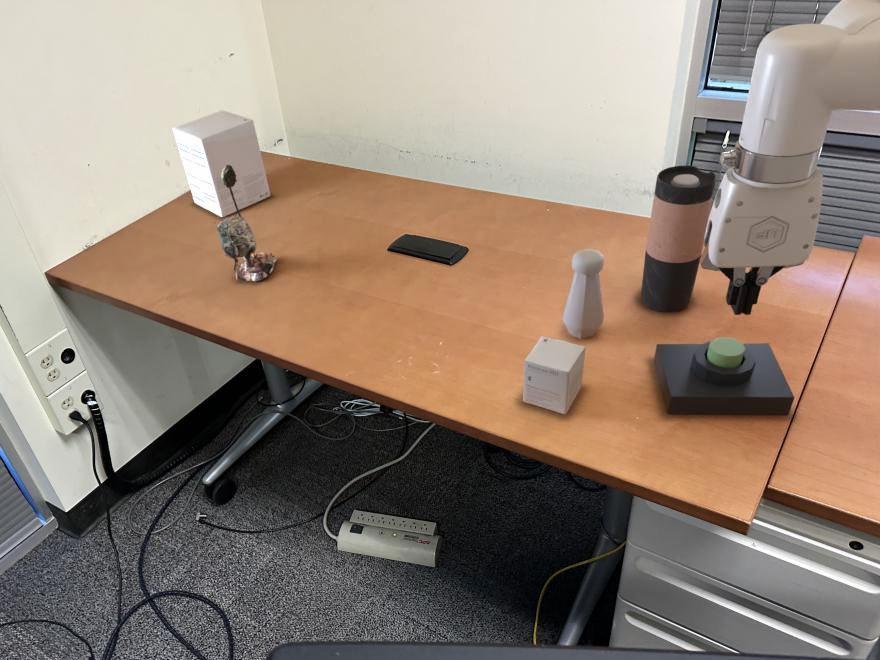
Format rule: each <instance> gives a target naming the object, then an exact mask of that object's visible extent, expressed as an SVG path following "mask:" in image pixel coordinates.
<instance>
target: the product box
mask: <svg viewBox="0 0 880 660" xmlns="http://www.w3.org/2000/svg"><path fill="white" fill-rule="evenodd" d="M586 349H587V347H586V346H584V345H580V344H576V343H573V342H569V341H566V340H563V339H556V338H552V337H548V336H545V335H541V337H540V338H539V340H538V341H537V342H536V343H535V345H534V347H533V348H532V350H531V351H530V352H529V354H528V355H527V357H526V358H525V359H524V368H523V369H524V370H523V395H522V397H523V398H522V401H523V402H524V403H526V404H530V405H533V406H536V407H540V408H543V409H546V410H548V411H553V412H555V413H559V414H561V415H567V413H568V412H569V410H570V408H571V406H572V404H573V402H574V401H575V399H576V398H577V396H578V394H579V392H580V391H581V390H582V384H583V377H584V368H585V367H584V366H585V357H586Z"/></svg>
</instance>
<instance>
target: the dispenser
mask: <svg viewBox="0 0 880 660" xmlns="http://www.w3.org/2000/svg"><path fill="white" fill-rule="evenodd" d="M711 341H712V340H709V341H706V342H704V343H657V344H656V345H655V350H654V351H655V352H654V357H653V364H654V367H655V373H656V376H657V380H658V383H659V387H660V392H661V395H662V398H663V399H662V400H663V403H664V406H665V410H666V415H707V416H709V415H710V416H711V415H713V416H785V417H786V416H787V417H788V416H789V414H790V412H791V409H792V406H793V403H794V400H795V399H796V398H795V395H794V393H793V391H792V389H791V387H790V385H789V383H788V380H787V379H786V376H785V375H784V372H783V370H782V369H781V366H780V363H779V362H778V360H777V358H776V356H775V353H774V351H773V349H772V347H771V345H770V343H769V342H761V343H760V342H758V343H757V342H755V343H751V342H749V343H748V342H747V343H745V342H743V343H742V342H741V343H742V344H743V345H744V347H745V351H744V355H743V358H742V362H741V364H740V365H739V366H738V367H735V368H722V367H719V366H715V365H713V364H711V363H710V362H708V360H707V353H708V349H709V345H710V342H711Z"/></svg>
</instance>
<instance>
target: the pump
mask: <svg viewBox="0 0 880 660" xmlns="http://www.w3.org/2000/svg"><path fill="white" fill-rule="evenodd" d="M710 341H711V342H710V345H709V349H708V353H707V360H708V362H710V363H711V364H713V365H715V366H719V367H722V368H735V367H738V366H739V365H740V364H741V362H742V358H743V355H744V351H745V347H744V345H743V344H742V342H741V341H739V340H738V339H735V338H732V337H728V336H727V337H726V336H721V337H716V338H713V339H711V340H710Z"/></svg>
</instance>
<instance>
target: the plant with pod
mask: <svg viewBox="0 0 880 660" xmlns="http://www.w3.org/2000/svg"><path fill="white" fill-rule="evenodd" d="M221 178H222V181H223V183H224V185H225V186H226V187H227V188H229V189H230V193H231V196H232V199H233V201H234V205H235V207H236V210H237V211H236V213H237V214H234V215H232V216H230V217H226V218H224V219H223V220H221V221H220V222H219V223H218V225H217V227H216V229H217V233H218V236H219V237H218V238H219V242H220V245H221V248H222V251H223V253H224V254H225V256H226V258H229V259H232V260H233V261H234V262H233V263H234V265H233V270H234V274H235V280H241V281H245V282H248V281H249V282H259V281H262V280H264V279H266V278H267V277H268V276H269V275H270V274H271V273H272V272H273V271H274V267H275V265H276V264H277V262H276V261H278V260H279V259H278V258H277V256H275V255H273V253H269V254H268V253H266V252H265V251H261V252H260V253H255V252H256V250H257V248H258V247H257V245H258V244H257V241H256V237H255V234H254V232H253V230H252V228H251V226H250V224H249V223H248V221H247V220H246V218H245V217H243V216H242V215H241V213H240V210H238V208H237V204H236V202H235V199H234V196H233V192H232V188H231V187H233V186H234V185H235V182H237V180H236V174H235V171H234V170H233V168H232V166H231V165H226V166H225V167H224V169H223V171H222V173H221ZM214 224H217V223H216V221H214ZM239 258H242V259H243V260H244V262H242V263H241V264H240V265H239Z"/></svg>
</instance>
